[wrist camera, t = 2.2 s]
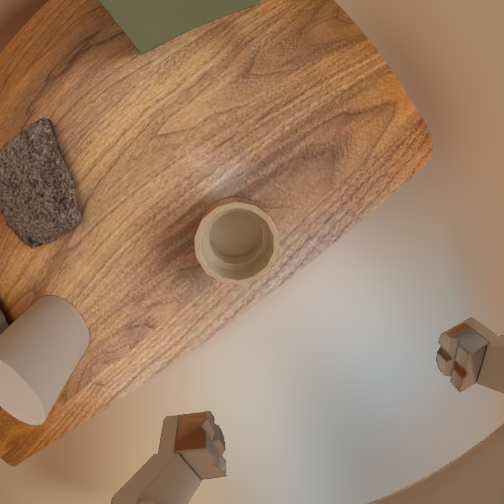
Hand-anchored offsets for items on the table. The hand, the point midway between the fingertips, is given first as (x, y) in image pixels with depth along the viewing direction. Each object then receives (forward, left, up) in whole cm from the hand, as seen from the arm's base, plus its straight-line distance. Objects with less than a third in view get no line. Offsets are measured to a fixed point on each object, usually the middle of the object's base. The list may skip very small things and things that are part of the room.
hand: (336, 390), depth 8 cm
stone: (+17, -16, -19) cm, 30 cm away
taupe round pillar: (+25, -2, -19) cm, 31 cm away
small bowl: (+2, -2, -19) cm, 19 cm away
